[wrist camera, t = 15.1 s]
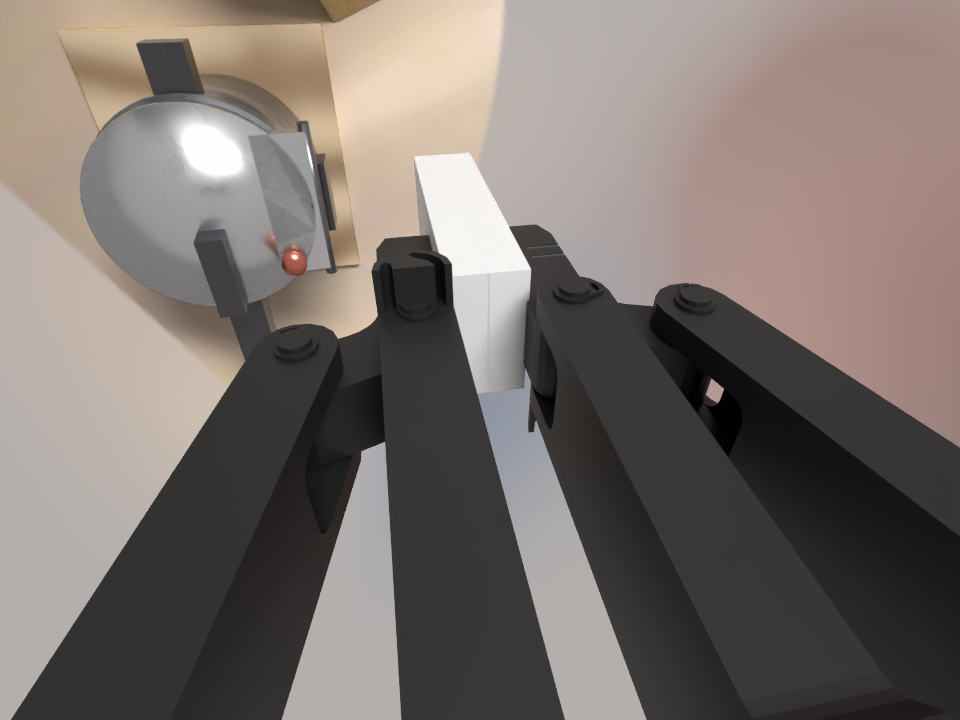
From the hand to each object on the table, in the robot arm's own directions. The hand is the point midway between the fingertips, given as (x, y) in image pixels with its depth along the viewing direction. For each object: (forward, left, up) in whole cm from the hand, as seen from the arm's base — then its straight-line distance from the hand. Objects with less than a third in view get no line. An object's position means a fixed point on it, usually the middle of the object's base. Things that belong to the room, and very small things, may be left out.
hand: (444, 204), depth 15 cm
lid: (+9, -14, -24) cm, 29 cm away
